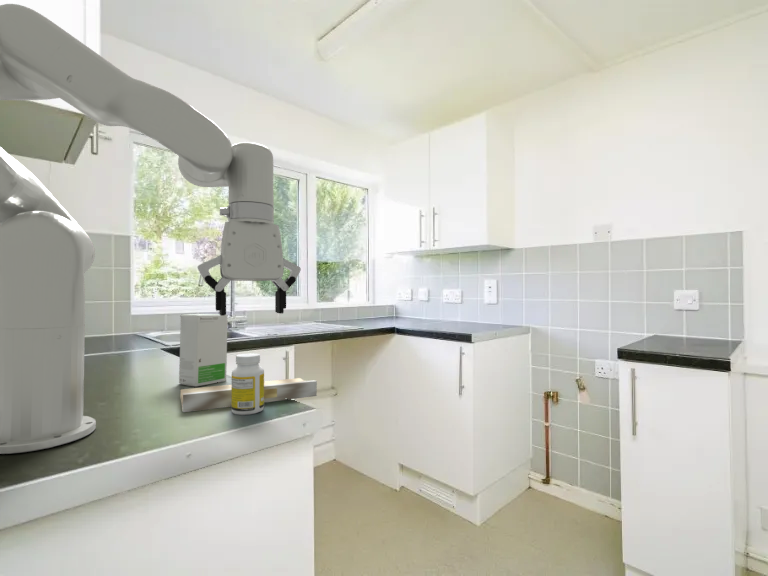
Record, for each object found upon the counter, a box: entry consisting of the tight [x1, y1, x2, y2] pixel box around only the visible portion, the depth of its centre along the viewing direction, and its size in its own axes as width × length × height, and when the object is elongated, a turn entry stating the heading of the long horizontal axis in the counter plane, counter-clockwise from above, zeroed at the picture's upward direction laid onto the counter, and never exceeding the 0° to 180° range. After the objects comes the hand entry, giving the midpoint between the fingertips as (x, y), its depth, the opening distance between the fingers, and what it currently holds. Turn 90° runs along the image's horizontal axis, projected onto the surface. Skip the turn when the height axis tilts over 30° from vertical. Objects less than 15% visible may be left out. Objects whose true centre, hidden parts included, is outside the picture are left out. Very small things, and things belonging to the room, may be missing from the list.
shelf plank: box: [179, 377, 318, 413], centre depth 79 cm, size 24×11×3 cm, turn 119°
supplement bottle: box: [231, 352, 265, 416], centre depth 69 cm, size 5×5×10 cm
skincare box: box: [178, 313, 229, 388], centre depth 91 cm, size 8×7×16 cm
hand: (252, 314), depth 70 cm, fingers open, 9 cm apart
